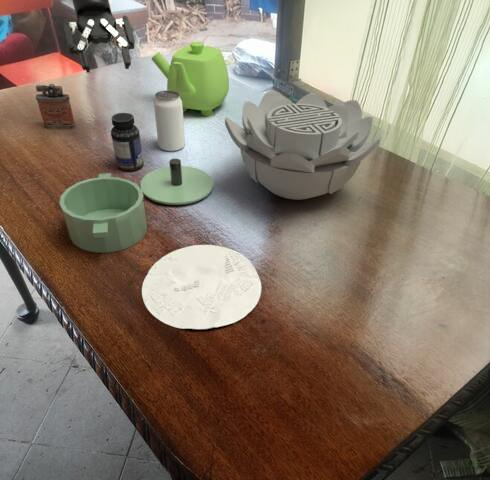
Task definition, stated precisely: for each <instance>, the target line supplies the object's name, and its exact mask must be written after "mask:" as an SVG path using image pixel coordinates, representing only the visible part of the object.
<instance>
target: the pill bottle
mask: <svg viewBox="0 0 490 480" xmlns="http://www.w3.org/2000/svg"><path fill="white" fill-rule="evenodd" d="M134 117H135V116H134V114H132V113H129V112H119V113H118V112H117V113H114V114H113V115H112V116H111V125H112V126H113V127H112V129H110V136H111V141H112V147H113V152H114V157H115V158H114V159H115V162H116V166H117V168H118V169H119V170H121V171H124V172H133V171H138V170H140V169H142V167H144V164H145V162H144V155H143V148H142V142H141V135H140V130H139V128H138V127H137V125H135V118H134Z"/></svg>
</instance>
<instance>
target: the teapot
mask: <svg viewBox="0 0 490 480" xmlns="http://www.w3.org/2000/svg"><path fill="white" fill-rule="evenodd" d="M151 61H152V62H153V63H154V64H155V66H156V67H157V68H158V69H159V71H160V72H161V74H163V76H164V77H165V78H166V79H167V82H166V90H171V91H176V92H178V93H179V94H180V98H181V100H182V108H183V112H186V111H187V110H188V109H190V110H195V111H196V110H197V111H200V113H201V115H202V116H204V117H210V116H213V114H214V113H213V110H214V109H216V108H218V107H219V106H222V105H223V103H224V101H225V99H226V98H227V96H228V93H229V90H230V79H229V72H228V67H227V64H226V60H225V58H224V55H223V52H222V50H221V48H216V47H213V46H211V45H205V43H203V42H201V41H191V42H190V43H189V44H188V45H186V46H183V47H180V48H179V49H177V50H176V51H175V52H174V53H173V55H172V57H171V60H170V63H169V62H168V61H167V59H166V58H165V57H164V55H162V53H161V52H160V51H158V52H157V53H155V54H154V55H153V56H152V58H151Z"/></svg>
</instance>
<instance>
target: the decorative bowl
mask: <svg viewBox="0 0 490 480" xmlns="http://www.w3.org/2000/svg"><path fill="white" fill-rule="evenodd" d="M241 115H242V119H241V122H242V126H243V127H242V126H240V125H238V123H236V122H234V121H233V120H232V119H230V118H229V117H228V116H226V117H224V119H225V120H224V126H225V127H226V130H227V132H228V134H229V137H230V138H231V140H232V141H233V143H234V144H235V145H236V147H238V149H239V150H240V155H241V159H242V161H243V165H244V167H245V170H246V171H247V173H248V174H249V176H250V177H251V179H252V180H254V182H255V183H256V184H257V183H260V185H262V186H263V187H264V188H266V189H267V190H268V191H269V192H270V193H272V194H273V195H276V196H277V197H281V198H284V199H289V200H297V201H298V200H299V201H300V200H307V199H311V198H315V197H320V196H323V195H325V194H328V193H329V194H330V195H332V194H333V193H335V192H337V191H338V190H340V189H341V188H342V187H344V186H345V185H346V184H347V183H348V182H349V181H350V180H351V178H352V177H353V176H354V174H355V173H356V172H357V170H358V168H359V166H360V164H361V162H362V161H363V160H364V159H366V158H367V157H368V156H369V155H370V154H371V153H372V152H374V151H375V150H376V148H377V147H379V146H380V142H381V139H382V137H379V138H377V139H376V140H373V141H370V142H369V143H368V142H367V143H366V141H367V140H368V138H369V136H370V133H371V131H372V130H371V129H372V126H373V121H374V117H373V116H366V117H363V118H362V115H363V114H362V107H361V105H360V103H359V101H358V100H357V99H350V100H347V101H344V102H342V103H335V104H332V105H330V106H327V103H326V102H325V100H324V98H322V97H321V95H319V94H318V93H316V92H310V93H307V94H305V95H304V96H302V97H301V98H300V99H299V100H298V101H296V103H294V102H293V101H291V100H290V98H288V97H285V95H283V94H282V93H280V91H277V90H274V89H270V90H268V91H267V92H266V93H265V94H264V95H263V97H262V98H261V100H260V102H259V104H258V105H256V104H255V103H253V102H252V101H247V100H245V101H244V103H243V106H242V114H241ZM365 143H366V144H365Z"/></svg>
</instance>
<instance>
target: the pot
mask: <svg viewBox="0 0 490 480" xmlns="http://www.w3.org/2000/svg"><path fill="white" fill-rule="evenodd" d="M144 197H145V196H144V194H143V191H142V190H141V187H140V185H139V184H138V183H135V182H133V181H131V180H129V179H126V178H121V177H116V176H115V177H114V176H112V173H111V172H109V173H108V172H107V173H98V177H91V178H88V179H85V180H81V181H79V182H76V183H74V184H73V185H71V186H69V187H67V189H65V190H64V191H63V193H62V194H61V195H60V198H59V203H58V204H59V207H60V211H61V214H62V217H63V221H64V225H65V227H66V231H67V234H68V236H69V239H70V241H71V242H72V243H73V244H74V246H76V247H78V248H79V249H81V250H83V251H85V252H90V253H98V254H100V253H101V254H105V253H115V252H121V251H123V250H126V249H129V248H131V247H133V246H135V245H136V244H138V243H139V242H141V241H142V240H143V238H144V237H145V236H146V234H147V231H148V219H147V212H146V205H145V199H144Z"/></svg>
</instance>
